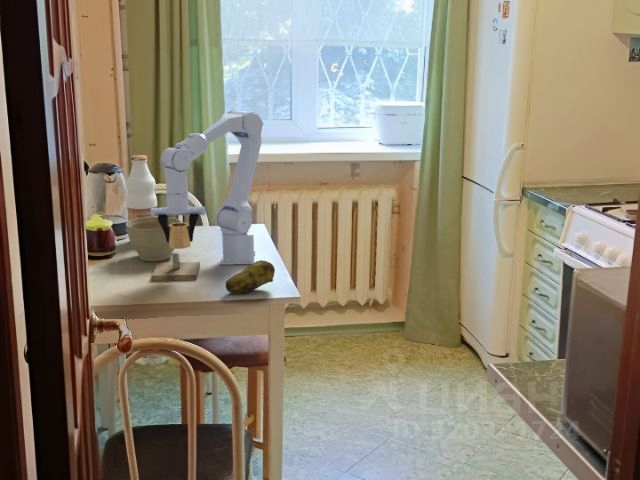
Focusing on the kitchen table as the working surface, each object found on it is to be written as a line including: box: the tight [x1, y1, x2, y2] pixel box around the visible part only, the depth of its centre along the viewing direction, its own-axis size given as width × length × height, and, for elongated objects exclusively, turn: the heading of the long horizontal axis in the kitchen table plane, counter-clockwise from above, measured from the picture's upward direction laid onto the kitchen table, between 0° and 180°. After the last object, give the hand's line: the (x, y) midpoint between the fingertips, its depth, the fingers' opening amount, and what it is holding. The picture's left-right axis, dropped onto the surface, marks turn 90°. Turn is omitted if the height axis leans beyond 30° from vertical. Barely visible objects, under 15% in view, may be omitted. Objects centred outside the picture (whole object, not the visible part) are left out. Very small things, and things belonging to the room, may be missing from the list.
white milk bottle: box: [125, 154, 158, 244], centre depth 250 cm, size 9×9×28 cm
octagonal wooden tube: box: [168, 221, 192, 250], centre depth 216 cm, size 6×6×6 cm
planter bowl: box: [125, 217, 182, 262], centre depth 235 cm, size 16×16×11 cm
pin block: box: [151, 251, 201, 282], centre depth 220 cm, size 12×12×6 cm
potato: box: [225, 259, 276, 295], centre depth 205 cm, size 8×13×8 cm, turn 95°
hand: (179, 240), depth 216 cm, fingers closed on octagonal wooden tube, 6 cm apart
